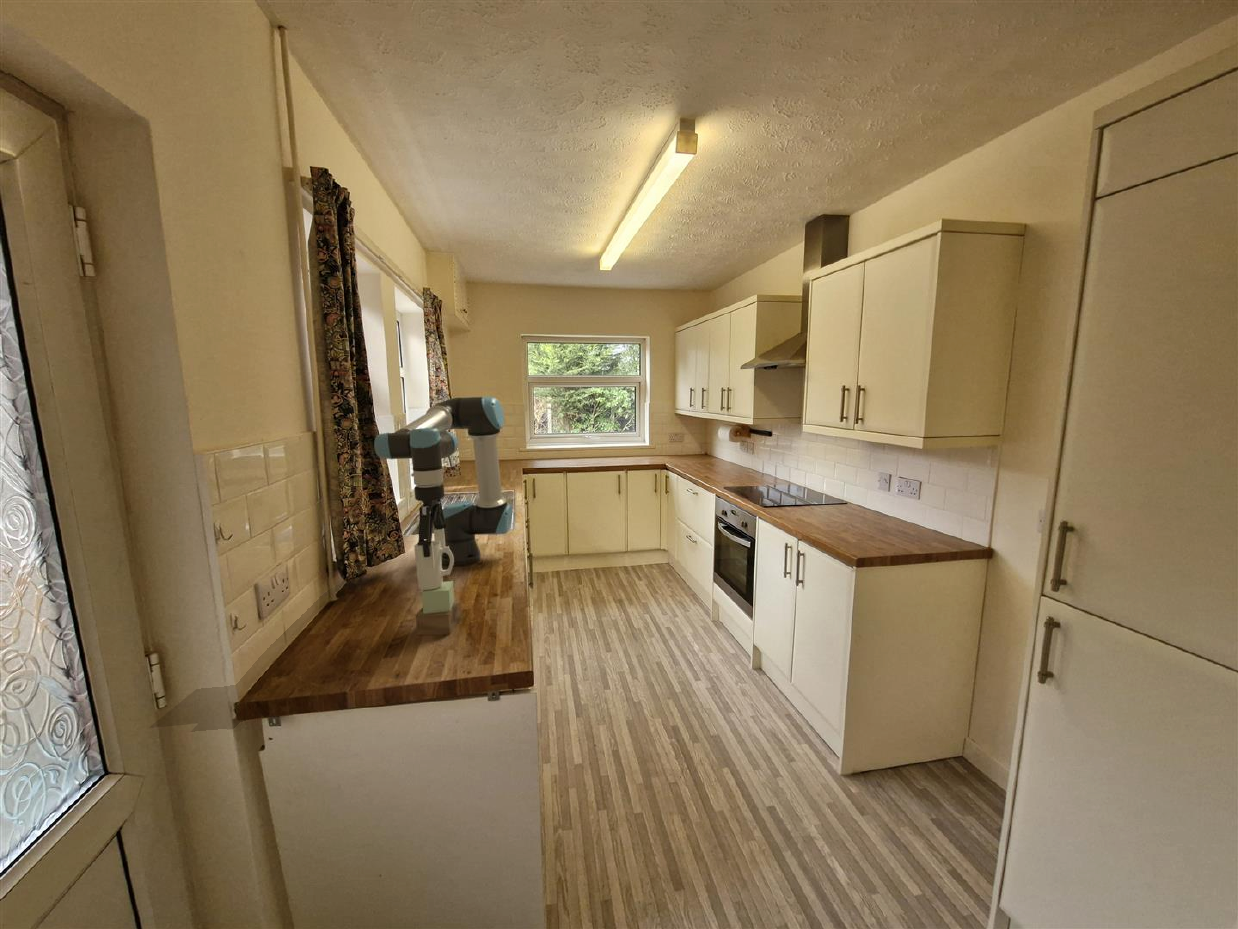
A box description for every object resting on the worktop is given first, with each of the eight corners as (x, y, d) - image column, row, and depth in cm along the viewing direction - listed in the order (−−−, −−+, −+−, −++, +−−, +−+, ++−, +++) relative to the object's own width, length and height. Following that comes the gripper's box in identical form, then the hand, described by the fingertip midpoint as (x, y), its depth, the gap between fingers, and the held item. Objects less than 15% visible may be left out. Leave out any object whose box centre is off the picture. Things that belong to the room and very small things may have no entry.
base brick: (431, 620, 138) (429, 600, 137) (461, 620, 137) (460, 600, 137) (417, 635, 129) (415, 614, 128) (449, 635, 129) (448, 614, 128)
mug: (414, 591, 128) (410, 548, 127) (421, 583, 134) (417, 542, 133) (453, 588, 129) (449, 545, 128) (458, 580, 136) (454, 539, 135)
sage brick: (428, 603, 135) (427, 583, 134) (454, 601, 136) (452, 581, 135) (423, 614, 128) (421, 592, 127) (450, 611, 129) (448, 590, 129)
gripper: (426, 477, 141) (432, 545, 144) (400, 495, 117) (407, 576, 120) (452, 476, 142) (457, 543, 145) (432, 493, 118) (438, 574, 121)
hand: (435, 558), depth 133 cm, fingers open, 13 cm apart
